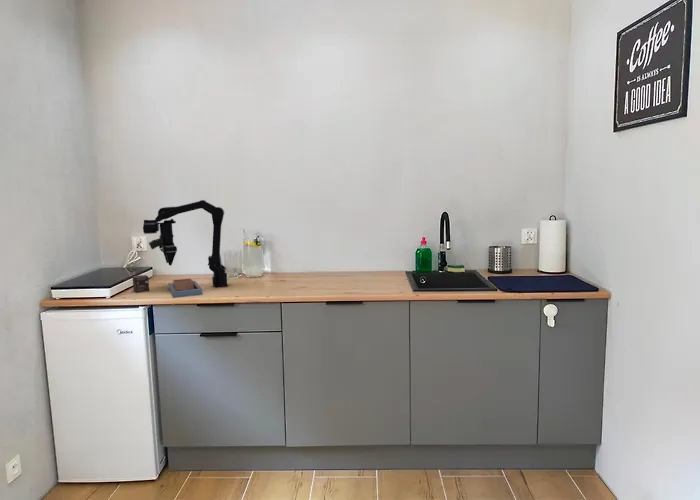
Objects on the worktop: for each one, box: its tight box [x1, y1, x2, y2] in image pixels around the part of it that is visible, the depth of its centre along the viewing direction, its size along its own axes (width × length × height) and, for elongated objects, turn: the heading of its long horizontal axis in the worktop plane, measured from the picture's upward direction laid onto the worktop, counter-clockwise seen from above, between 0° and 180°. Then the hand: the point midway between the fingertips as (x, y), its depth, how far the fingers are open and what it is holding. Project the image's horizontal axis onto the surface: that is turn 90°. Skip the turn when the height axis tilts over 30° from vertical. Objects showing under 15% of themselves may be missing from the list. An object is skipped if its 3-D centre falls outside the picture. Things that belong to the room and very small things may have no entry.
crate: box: [171, 277, 194, 291], centre depth 254 cm, size 9×8×4 cm
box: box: [132, 274, 150, 293], centre depth 250 cm, size 6×6×7 cm
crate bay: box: [167, 280, 203, 298], centre depth 249 cm, size 13×23×2 cm, turn 25°
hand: (169, 264), depth 255 cm, fingers open, 9 cm apart
